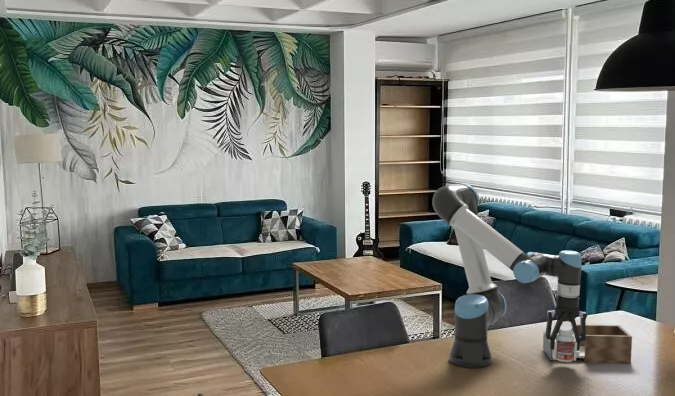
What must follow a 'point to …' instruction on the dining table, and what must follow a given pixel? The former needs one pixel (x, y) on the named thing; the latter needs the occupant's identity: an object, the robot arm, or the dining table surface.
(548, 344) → the tray
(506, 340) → the dining table surface
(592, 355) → the wooden box
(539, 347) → the dining table surface
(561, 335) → the pill bottle
